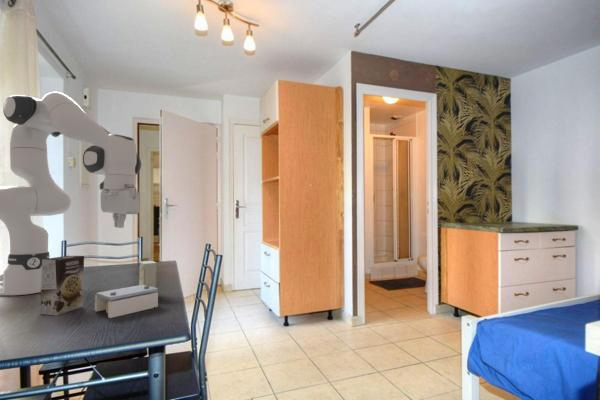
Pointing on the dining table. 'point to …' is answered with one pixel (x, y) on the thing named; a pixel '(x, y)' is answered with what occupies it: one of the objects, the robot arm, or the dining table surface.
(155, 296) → the open tray
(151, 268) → the skincare box
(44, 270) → the coffee box
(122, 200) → the robot arm
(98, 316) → the dining table surface
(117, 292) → the lid
